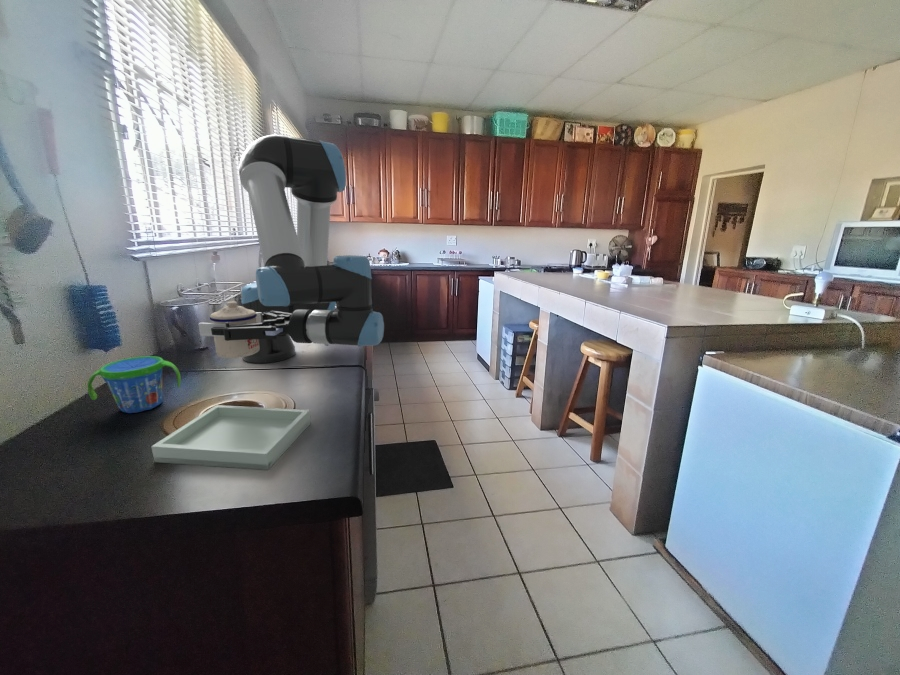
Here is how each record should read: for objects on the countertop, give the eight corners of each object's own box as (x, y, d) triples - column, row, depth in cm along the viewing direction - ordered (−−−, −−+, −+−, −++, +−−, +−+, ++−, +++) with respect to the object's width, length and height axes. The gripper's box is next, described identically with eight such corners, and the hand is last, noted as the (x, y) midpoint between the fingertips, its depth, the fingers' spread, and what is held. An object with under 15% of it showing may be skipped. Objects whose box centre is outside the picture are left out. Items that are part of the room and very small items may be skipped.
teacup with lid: (258, 356, 83) (252, 304, 80) (211, 360, 80) (202, 306, 77) (263, 342, 94) (258, 295, 91) (222, 345, 91) (215, 297, 87)
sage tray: (218, 418, 79) (216, 404, 78) (310, 423, 77) (309, 410, 77) (154, 462, 64) (151, 446, 63) (268, 469, 62) (266, 453, 61)
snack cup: (85, 423, 76) (73, 376, 73) (106, 402, 85) (96, 360, 82) (178, 411, 82) (170, 366, 79) (188, 392, 91) (181, 352, 88)
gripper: (288, 359, 73) (182, 354, 75) (334, 330, 96) (252, 326, 98) (284, 322, 71) (175, 317, 73) (332, 300, 94) (248, 297, 96)
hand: (219, 322), depth 85 cm, fingers closed on teacup with lid, 11 cm apart
